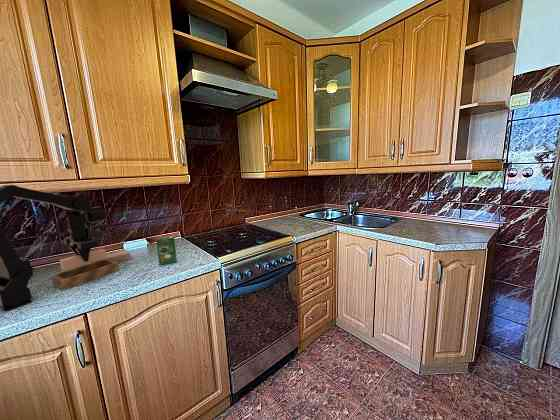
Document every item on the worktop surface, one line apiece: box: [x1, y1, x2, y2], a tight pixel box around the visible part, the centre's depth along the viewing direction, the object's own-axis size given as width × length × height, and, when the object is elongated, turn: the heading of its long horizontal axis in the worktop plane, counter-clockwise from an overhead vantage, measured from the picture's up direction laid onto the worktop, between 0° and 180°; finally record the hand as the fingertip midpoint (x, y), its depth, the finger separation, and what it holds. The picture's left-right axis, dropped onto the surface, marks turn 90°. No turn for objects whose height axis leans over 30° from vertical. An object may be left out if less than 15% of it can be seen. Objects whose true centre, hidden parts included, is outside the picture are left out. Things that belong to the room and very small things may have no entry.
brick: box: [92, 249, 132, 264], centre depth 119 cm, size 17×8×5 cm, turn 130°
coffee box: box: [155, 235, 178, 266], centre depth 113 cm, size 8×3×13 cm, turn 108°
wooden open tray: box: [50, 259, 120, 291], centre depth 102 cm, size 20×11×4 cm, turn 149°
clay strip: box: [59, 248, 107, 271], centre depth 101 cm, size 15×4×4 cm, turn 149°
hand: (84, 260), depth 101 cm, fingers closed on clay strip, 3 cm apart
